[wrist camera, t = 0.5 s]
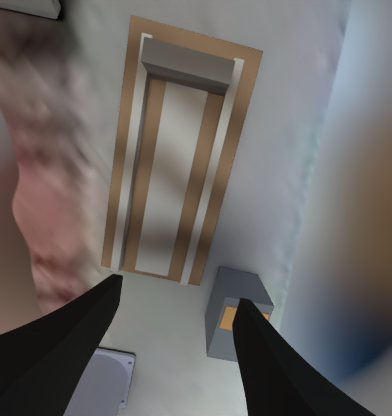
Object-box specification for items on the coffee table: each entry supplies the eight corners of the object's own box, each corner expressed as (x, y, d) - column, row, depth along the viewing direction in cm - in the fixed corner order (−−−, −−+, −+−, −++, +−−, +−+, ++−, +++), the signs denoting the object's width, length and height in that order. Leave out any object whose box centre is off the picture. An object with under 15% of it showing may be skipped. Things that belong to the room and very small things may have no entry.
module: (240, 322, 24) (251, 366, 19) (204, 315, 24) (206, 358, 19) (257, 274, 22) (275, 308, 17) (219, 266, 22) (226, 298, 17)
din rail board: (199, 282, 22) (199, 305, 19) (103, 262, 22) (85, 283, 18) (260, 54, 17) (277, 27, 13) (133, 19, 16) (115, -18, 13)
